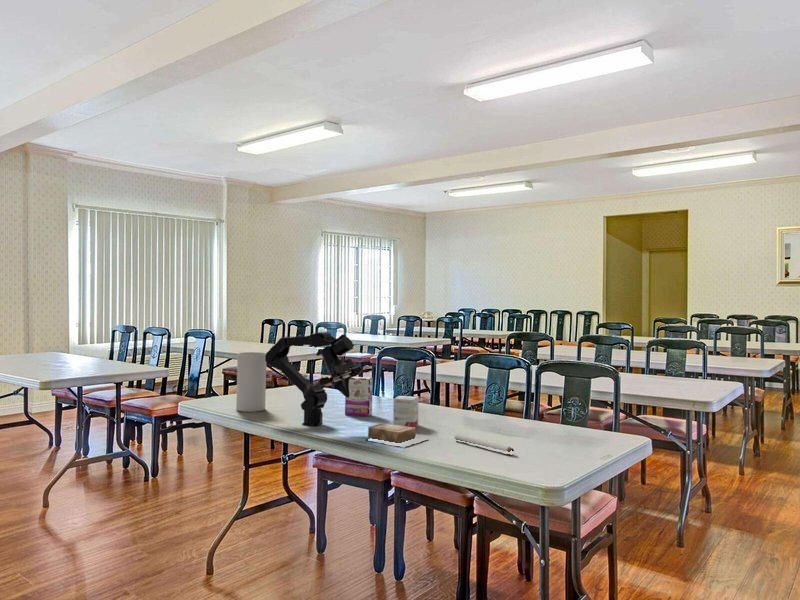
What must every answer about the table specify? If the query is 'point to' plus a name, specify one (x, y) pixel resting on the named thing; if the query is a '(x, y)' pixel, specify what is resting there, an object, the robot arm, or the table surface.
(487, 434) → the table surface
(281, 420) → the table surface
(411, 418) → the ink box
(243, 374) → the cylinder vase
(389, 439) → the brown cardboard box
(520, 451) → the table surface
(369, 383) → the candy bar box
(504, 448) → the tube
